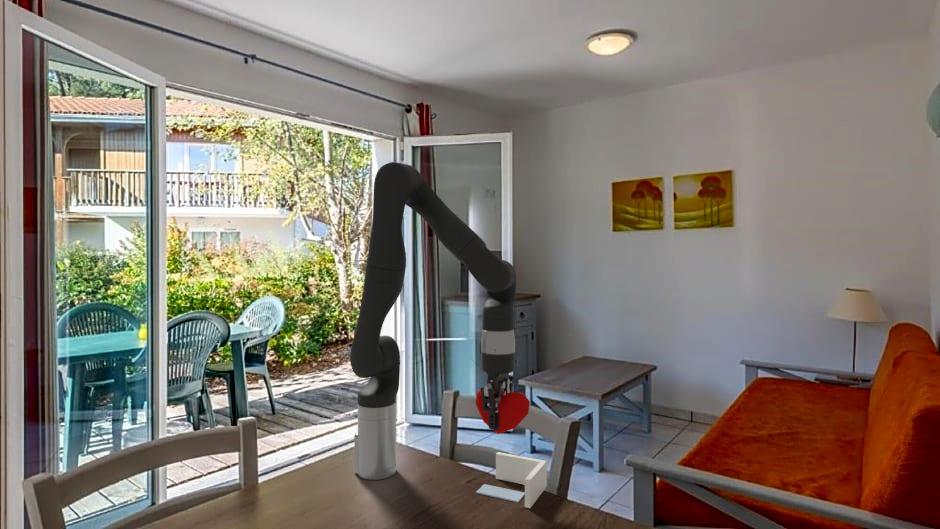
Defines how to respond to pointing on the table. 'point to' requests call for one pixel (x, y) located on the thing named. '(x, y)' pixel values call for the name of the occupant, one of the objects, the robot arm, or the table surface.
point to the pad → (501, 493)
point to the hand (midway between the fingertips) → (498, 425)
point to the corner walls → (523, 474)
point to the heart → (506, 410)
